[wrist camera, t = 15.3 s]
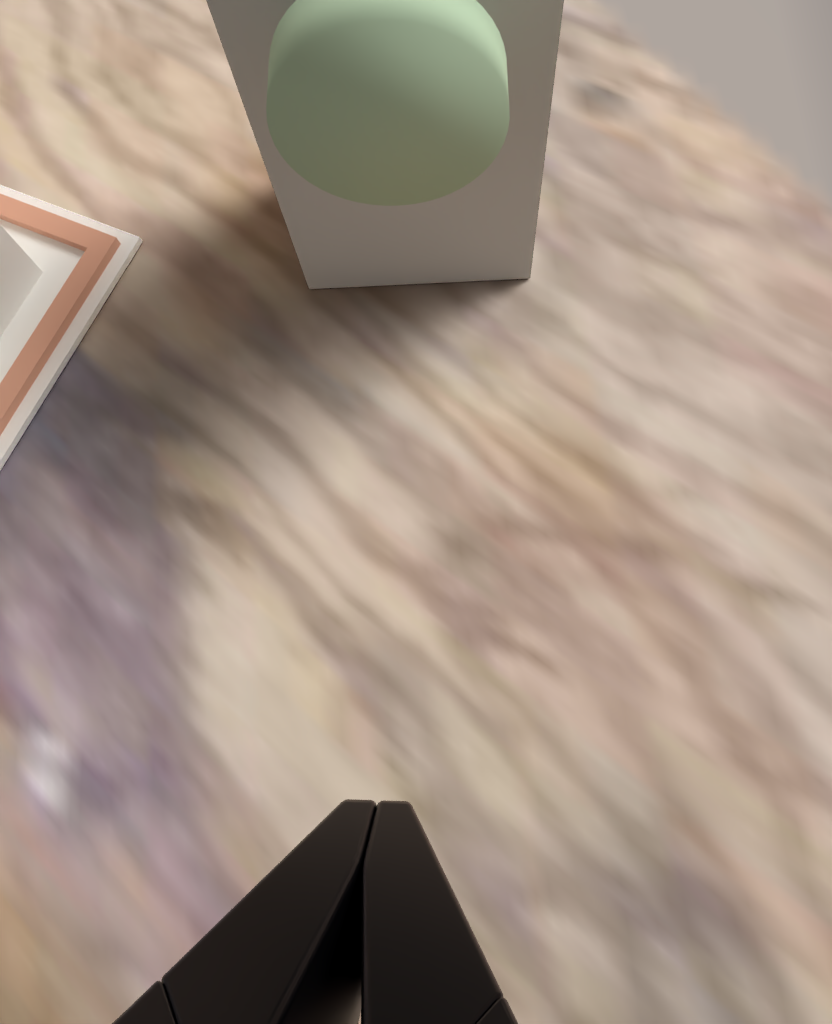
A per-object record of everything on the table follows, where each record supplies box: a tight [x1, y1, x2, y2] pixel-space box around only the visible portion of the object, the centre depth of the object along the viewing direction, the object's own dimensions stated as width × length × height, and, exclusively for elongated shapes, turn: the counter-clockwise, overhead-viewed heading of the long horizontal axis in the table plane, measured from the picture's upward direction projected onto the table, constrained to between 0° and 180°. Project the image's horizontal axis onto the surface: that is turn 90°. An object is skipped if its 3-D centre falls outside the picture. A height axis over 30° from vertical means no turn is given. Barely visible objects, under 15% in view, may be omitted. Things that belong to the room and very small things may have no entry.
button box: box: [206, 0, 564, 289], centre depth 17 cm, size 4×6×10 cm, turn 91°
